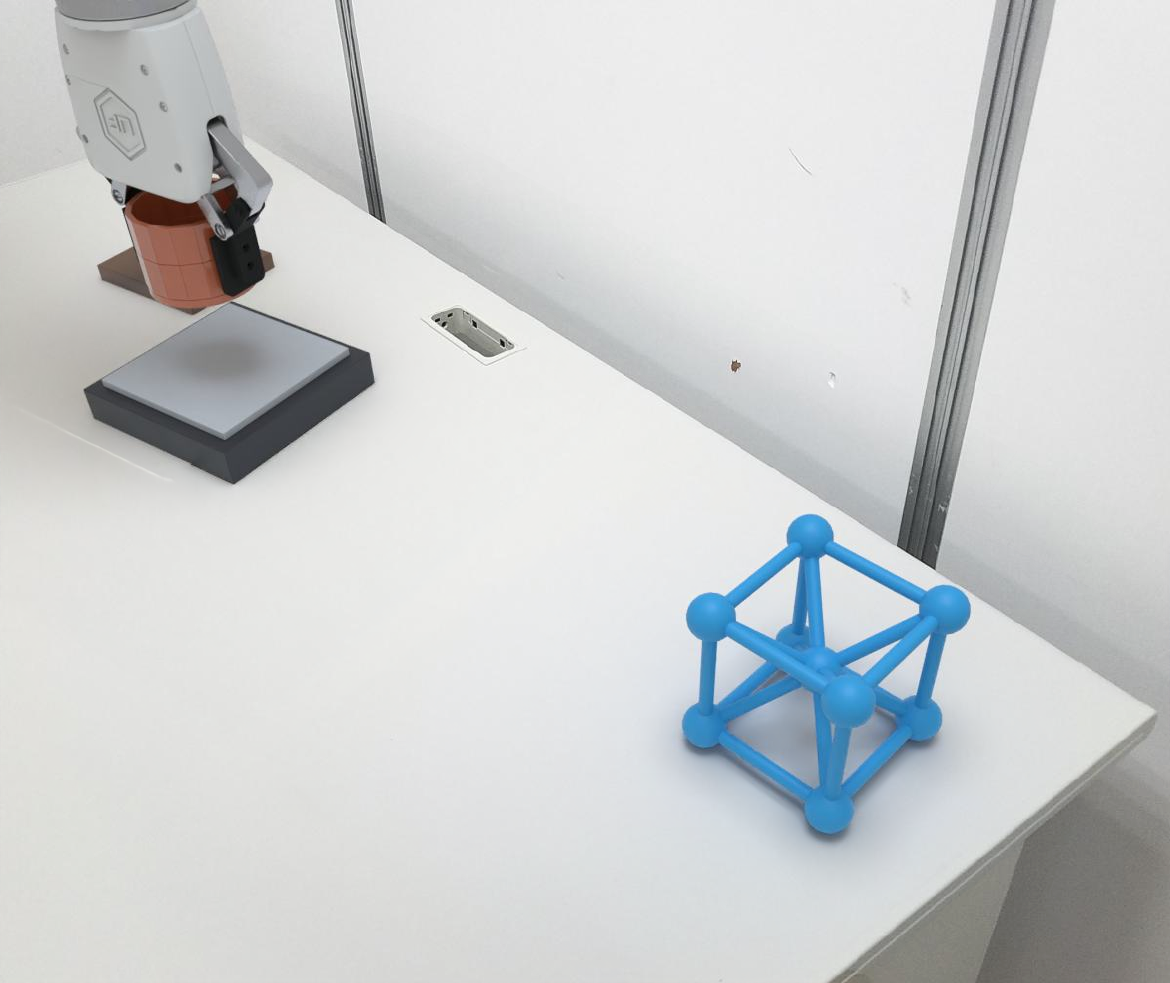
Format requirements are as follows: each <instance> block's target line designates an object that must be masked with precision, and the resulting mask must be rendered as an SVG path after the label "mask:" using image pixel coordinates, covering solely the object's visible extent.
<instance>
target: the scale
mask: <svg viewBox="0 0 1170 983" xmlns="http://www.w3.org/2000/svg"><path fill="white" fill-rule="evenodd" d="M375 381H376V380H375V375H374V370H373V364H372V358H371V353H370V352H368V351H366V350H363V349H361V348H358V347H355V346H353V345H351V344H347V343H345V342H343V341H340V340H337V339H335V338H331V337H329V336H326V335H323V334H321V333H318V332H316V331H313V330H310V329H307V328H305V327H303V326H299V325H297V324H294V323H292V322H289V321H286V320H284V319H281V318H278V317H275V316H273V315H270V314H268V313H265V312H262V311H259V310H257V309H254V308H251V307H249V306H247V305H244V304H241V303H238V302H235V301H233V300H231V301H229V302H226V303H224V305H222V306H220V307H219V308H217V309H215V310H213V311H212V312H210V313H209V314H207V315H205V316H204V317H202V318H200V319H199V320H197V321H195V322H193V323H192V324H190V325H189V326H187V327H185V328H183V329H182V330H180V331H178V332H177V333H175V334H174V335H172V336H170V337H168V338H167V339H165V340H164V341H162V342H160V343H159V344H157V345H155V346H153V347H152V348H150V349H148V350H147V351H145V352H143V353H142V354H140V355H138V356H137V357H134V358H132V359H131V360H130V361H128V362H126V363H125V364H123V365H121V366H120V367H118V368H117V369H115V370H113V371H112V372H110V373H108V374H107V375H105V376H103V377H102V378H100V379H98V380H96V381H95V382H93V383H91V384H90V385H88V386H86V387H84V388H83V389H82V390H83V393H84V396H85V398H86V402H87V404H88V407H89V409H90V411H91V414H92V417H93V419H94V420H96V421H98V422H100V423H103V424H104V425H107V426H109V427H111V428H114V429H116V430H117V431H120V432H122V433H124V434H127V435H128V436H130V437H133V438H134V439H137V440H139V441H142V442H143V443H146V444H148V445H150V446H152V447H154V448H155V449H159V450H160V451H163V452H165V453H167V454H169V455H172V456H174V457H176V458H177V459H180V460H183V461H184V462H186V463H188V464H191V465H192V466H194V467H197V468H199V469H201V470H203V471H204V472H208V473H209V474H211V475H214V476H215V477H218V478H220V479H222V480H223V481H227V482H229V483H230V484H236V483H237V482H238V481H240V480H241V479H243V478H244V477H246V475H248V474H249V473H251V472H252V471H254V470H255V469H256V468H258V467H259V466H261V465H262V464H263V463H265V462H266V461H268V460H269V459H270V458H272V457H274V455H276V454H277V453H278V452H280V451H281V450H283V449H284V448H285V447H287V446H288V445H290V444H291V443H293V442H294V441H295V440H297V439H298V438H299V437H300V436H302V435H303V434H305V433H306V432H308V431H309V430H310V429H313V427H315V426H316V425H318V424H319V423H320V422H322V421H323V420H324V419H326V418H327V417H329V416H330V415H331V414H333V413H335V411H337V410H339V409H340V408H341V407H342V406H344V405H345V404H346V403H348V402H349V401H350V400H352V399H354V398H355V397H357V395H359V394H360V393H362V392H364V391H365V390H366V389H368V387H370V386H372V384H374V383H375Z"/></svg>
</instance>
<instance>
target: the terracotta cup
mask: <svg viewBox="0 0 1170 983" xmlns="http://www.w3.org/2000/svg"><path fill="white" fill-rule="evenodd" d="M218 179H220V178H219V177H212V182H214V181H216V180H218ZM212 182H211V183H212ZM213 196H214V197H215V199H216V201H217V202H218V204H219V206H220V207H221V209H222V211H223V213H225V211H226V210H227V208H228V207H229V205H230V204H231V200H230V199H229V197H228V195H227V194H226V192H225V190H224V189H223V190H221V191H219V192H217V193H215V194H213ZM125 207H126V209H125V217H126V220H127V223H128V227H129V230H130V233H131V236H132V240H133V243H134V246H135V249H136V252H137V256H138V259H139V262H140V265H141V268H142V272H143V275H144V278H145V281H146V284H147V286H148V287H149V290H150V293H151V295H152V297H153V298H154V299H155V300H157V301H156V302H157V303H160V304H162V305H165V306H168V307H171V308H173V307H177V308H203V307H207V308H209V307H214V306H219V305H222V304H227V303H229V302H230V301H233V300H236V299H238V298H240V297H242V296H244V295H245V294H247V293H248V292H250V291H251V290H253V288H255V286H256V285H257V284H258V283H256V284H255V285H253V286H251V287H250V288H248V289H246V290H245V291H243V292H241V293H240V294H238V295H236V296H234V297H231V296H228V295H226V294H224V292H223V290H222V286H221V282H220V279H219V275H218V271H217V267H216V264H215V260H214V256H213V252H212V249H211V245H210V240H209V238H211V237H213V236H215V235H216V234H215V232H214V231H213V229H212V227H211V226H210V224H209V222H208V221H207V219H206V217H205V216H204V214H203V212H202V211H201V209H200V207H199V206H198V204H197V202H193V203H183V202H178V201H175V200H172V199H168V198H165V197H162V196H159V195H156V194H153V193H150V192H147V191H144V190H143V191H141V192H139V193H138V194H136V195H135V196H134V197H133V198H132V199H131V200H130V201H129V202H128V203H127V204H126V206H125ZM132 240H131V241H132ZM155 300H154V301H155Z"/></svg>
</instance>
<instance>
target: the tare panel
mask: <svg viewBox="0 0 1170 983" xmlns="http://www.w3.org/2000/svg"><path fill="white" fill-rule="evenodd" d="M260 252H261V257H262V261H263V265H264V269H265V274H266V273H268V272H270V271H271V270H273V269H275V263H274V258H273V254H272V252H270V251H268V250H264V249H261V248H260ZM96 266H97V269H98V272H99V275H100V279H101V280H102V281H103V282H106V283H110V284H112V285H115V286H117V287H120V288H122V289H124V290H127V291H130V292H132V293H135V294H138V295H140V296H143V297H145V298H147V299H150V300H153V301H155V302H158V301H157V300H155V299H154V298H153V297H152V295H151V293H150V290H149V287H148V286H147V284H146V281H145V278H144V275H143V272H142V268H141V265H140V263H139V262H138V260H137V256H136V253H135V250H134V247H133V246H131V247H129V248H127V249H125V250H123V251H121V252H120V253H117V254H115V255H113V256H112V257H110V258H108V259H106V260H104V261H102V262H100V263H99V264H97V265H96ZM172 308H173V309H176V310H177V311H181V312H184V313H186V314H189V315H191V316H195V315H197V314H199V313H200V312H202V311H204V310H205V309H207V308H208V307H203V308H177V307H172Z"/></svg>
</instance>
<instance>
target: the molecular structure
mask: <svg viewBox="0 0 1170 983" xmlns="http://www.w3.org/2000/svg"><path fill="white" fill-rule="evenodd" d="M785 536H786V544H787V546H785V547H784V548H783V549H782V550H781V551H779V552H778V553H777V554H776V555H774V556H773V557H772V558H770V559H769V560H768V561H766V563H764V564H763V565H762V566H761V567H759V568H758V569H757V570H756V571H754V572H753V573H752V574H750V575H749V576H748V577H747V578H746V579H744V580H743V581H742V582H741V583H739V584H738V585H737V586H736V587H735V588H733V589H732V590H731V591H729V592H728V593H727V594H726V595H723V594H721V593H718V592H711V591H710V592H704V593H701V594H699V595H697V596H696V597H694V598H693V599H692V600H691V601H690V603H689V605H688V606H687V609H686V613H685V622H686V626H687V628H688V630H689V631H690V634H692V635H693V636H694V637H695V638H696V639H697V640H700V641H701V648H700V649H701V652H700V668H699V669H700V671H699V690H698V702H696V703H694V704H693V705H691V706H689V707H688V708H687V709H686V711H685V712H684V714H683V717H682V720H681V730H682V734H683V735H684V737H685V738H686V740H687V741H688V742H689V743H690V744H691V745H694V746H695V747H698V748H703V749H707V748H712V747H714V746H716V745H718V744H720V745H721V746H723V747H724V748H725V749H727V750H728V751H730V752H731V753H733V754H734V755H736V757H739V758H740V759H742V760H743V761H745V762H746V763H748V764H749V765H751V766H752V767H753V768H755V769H756V770H758V771H760V772H761V773H762V774H764V775H765V776H767V777H768V778H769V779H771V780H773V781H774V782H776V783H777V784H779V785H780V786H781V787H783V788H784V789H785V790H787V791H789V793H792V794H793V795H794V796H796V797H797V798H799V799H801V800H802V801H803V802H804V803H803V804H804V805H803V806H804V815H805V818H806V820H807V822H808V824H809V825H810V826H811V827H812V828H813V829H815V830H816V831H818V832H821V833H822V834H837V833H840V832H842V831H844V830H845V829H846V828H847V827H848V826H850V824H851V822H852V820H853V818H854V816H855V815H854V814H855V804H854V801H853V799H852V797H853V796H854V795H855V794H856V793H857V792H859V790H860V789H861V788H862V787H863V786H864V785H865V784H866V783H867V782H868V781H869V780H870V779H871V778H872V777H873V776H874V775H875V774H876V773H877V772H878V771H879V769H881V768H882V767H883V766H884V765H885V764H886V762H888V760H890V758H892V756H893V755H894V754H895V753H897V751H898V750H899V749H901V747H903V746H904V744H905V743H906V742H907V741H908V740H911V739H912V740H911V741H917V742H923V740H924V741H928V740H929V739H932V738H934V737H935V736H936V735H937V734H938V733H939V731H940V729H941V727H942V725H943V713H942V710H941V708H940V706H939V705H938V704H937V702H936V701H935V700H934V699H932V697H933V693H934V688H935V684H936V681H937V676H938V673H939V669H940V665H941V661H942V656H943V653H944V648H945V645H946V641H947V636H948V635H953V634H955V633H957V632H959V631H961V630H962V629H964V628H965V627H966V626H967V624H968V622H969V620H970V618H971V614H972V610H971V609H972V606H971V602H970V599H969V597H968V596H967V594H966V593H965V592H964V591H963V590H961V589H960V588H958V587H957V586H954V585H951V584H939V585H935V586H933V587H932V588H930V589H928V590H926V589H924V588H921V587H920V586H918V585H916V584H914V583H912V582H910V581H909V580H906V579H905V578H903V577H902V576H899V575H897V574H896V573H893V572H892V571H890V570H888V569H887V568H885V567H883V566H880V565H879V564H877V563H874V561H871V560H870V559H868V558H865V557H864V556H862V555H861V554H858V553H856V552H854V551H853V550H850V549H849V548H847V547H845V546H843V545H841V544H839V543H838V542H836V541H835V538H834V537H835V534H834V530H833V527H832V525H831V524H830V523H829V521H828V520H827V519H826V518H824V517H823V516H821V515H820V514H819V515H818V514H814V513H804V514H802V515H800V516H798V517H796V518H795V519H794V520H792V521H791V523H790V524H789V526H788V527H787V531H786V535H785ZM826 555H827V556H829V557H831V558H832V559H834V560H835V561H837V562H840V563H841V564H843V565H845V566H847V567H849V568H850V569H852V570H853V571H856V572H858V573H859V574H861V575H864V576H865V577H867V578H869V579H871V580H873V581H874V582H876V583H878V584H880V585H882V586H884V587H885V588H887V589H889V590H891V591H893V592H894V593H897V594H898V595H900V596H902V597H904V598H905V599H907V600H910V601H911V602H913V603H915V604H917V605H918V613H917V614H915V615H913V616H910V617H908V618H906V619H904V620H902V621H900V622H898V623H896V624H893V625H892V626H890V627H887V628H886V629H884V630H881V631H880V632H878V633H875V634H873V635H871V636H869V637H867V638H865V639H863V640H861V641H858V642H857V643H854V644H852V645H850V646H848V647H846V648H844V649H842V650H840V651H838V652H836V651H834V649H832V648H830V647H828V646H826V638H825V637H826V636H825V622H824V609H823V595H822V581H821V568H820V567H821V566H820V559H822V558H823V557H825V556H826ZM797 558H798V559H799V562H798V572H797V579H796V588H795V595H794V604H793V612H792V620H791V623H789V624H787V625H785V626H783V627H782V628H781V629H780V630H779V631H778V632H777V634H776V635H775V638H772V637H771V636H768V635H766V634H764V633H762V632H760V631H758V630H756V629H754V628H751V627H750V626H747V625H745V624H744V623H741V622H739V621H737V613H736V608H737V607H738V606H739V605H741V604H742V603H744V601H745V600H747V599H748V598H749V597H750V596H752V595H753V594H754V593H756V591H758V590H759V589H760V588H761V587H762V586H764V585H765V584H766V583H768V582H769V581H770V580H771V579H772V578H774V577H775V576H776V575H778V573H780V572H781V571H782V570H783V569H785V568H786V567H788V566H789V565H790V564H791V563H792V562H793V561H795V560H796V559H797ZM807 622H808V625H807ZM725 638H729V639H730V640H732V641H734V642H735V643H737V644H738V645H740V646H742V647H743V648H745V649H746V650H748V651H749V652H751V653H753V654H754V655H756V656H758V657H759V658H761V659H763V660H765V662H764V663H763V664H762V665H761V666H759V667H758V668H757V669H756V670H755V671H753V672H752V673H751V674H750V675H749V676H748V677H747V678H746V679H745V680H743V681H742V682H741V683H740V684H739V685H738V686H736V687H735V688H734V689H732V691H731V692H729V693H728V694H727V695H726V696H725V697H724V698H722V700H720V701H719V702H718V703H717V704H716V703H714V701H715V685H716V668H717V667H716V666H717V653H718V642H720V641H722V640H724V639H725ZM927 638H929V639H928V644H927V648H926V652H925V656H924V661H923V665H922V669H921V673H920V678H919V682H918V685H917V691H916V694H913V695H909V696H908V697H906V698H903V699H901V698H900V697H898V696H897V695H895V694H893V693H892V692H890V691H888V690H886V689H885V688H883V687H882V686H879V685H880V684H881V683H882V682H883V681H884V680H885V679H886V678H887V677H888V676H889V675H890V674H891V673H892V672H893V671H895V669H896V668H898V667H899V665H900V664H901V663H902V662H904V661H905V660H906V659H907V658H908V657H909V656H910V655H911V654H912V653H913V652H914V651H915V650H916V649H917V648H918V647H920V645H921V644H922V643H923V642H925V641H926V640H927ZM894 643H896V644H895V645H893V647H892V648H891V649H889V651H887V652H886V653H885V654H884V655H883V656H882V657H881V658H880V659H879V660H878V661H877V662H876V663H875V664H874V665H873V666H871V667H870V668H869V669H868V670H867V671H866V672H865V673H864V674H863V675H861V674H859V673H858V672H856V671H854V670H853V669H851V668H850V667H848V665H850V664H852V663H854V662H857V661H858V660H862V659H863V658H865V657H867V656H869V655H871V654H873V653H875V652H878V651H880V650H882V649H885V648H886V647H888V646H890V645H892V644H894ZM778 670H781V671H782V672H783V673H785V674H787V675H788V676H785V677H784V678H782V679H780V680H778V681H776V682H774V683H772V684H770V685H768V686H766V687H763V688H761V689H759V690H757V689H758V688H759V687H760V686H761V685H763V684H764V683H765V682H766V681H767V680H768V679H770V678H771V677H772V676H773V675H774V674H775V673H776V672H777V671H778ZM800 688H803V689H805V690H806V691H808V692H810V693H811V694H812V695H813V707H814V708H813V710H814V721H815V722H814V723H815V738H816V752H817V765H818V766H817V769H818V779H819V783H818V784H819V785H817V786H816V787H814V788H813V787H811V786H810V785H808V784H807V783H805V782H804V781H803V780H801V779H799V778H798V777H797V776H795V775H793V774H792V773H791V772H789V771H788V770H786V769H784V768H783V767H781V766H780V765H779V764H777V763H776V762H774V761H773V760H771V759H770V758H768V757H766V756H765V755H764V754H762V753H760V752H759V751H758V750H756V749H755V748H753V747H752V746H750V745H749V744H748V743H746V742H744V741H742V740H741V739H739V737H737V736H735V735H734V734H732V733H731V732H729V731H728V729H729V726H728V725H729V722H730V721H733V720H734V719H737V718H738V717H741V716H743V715H745V714H748V713H749V712H752V711H754V710H756V709H758V708H760V707H762V706H764V705H766V704H768V703H771V702H773V701H774V700H777V699H778V698H781V697H783V696H785V695H787V694H789V693H791V692H793V691H795V690H797V689H800ZM756 690H757V691H756ZM876 707H879V708H880V709H882V710H885V711H886V712H888V713H891V714H893V715H894V722H895V726H896V728H897V729H895V730H894V731H893V733H892V734H890V735H889V736H888V737H887V738H886V739H885V740H884V742H882V744H880V745H879V747H877V748H876V749H875V750H874V751H873V752H872V753H871V755H870V756H869V757H867V759H866V760H865V761H864V762H862V764H860V765H859V767H858V768H857V769H856V770H855V771H854V772H852V774H851V775H850V776H848V777H847V779H846V780H845V781H844V782H843V780H844V779H843V778H844V774H845V768H846V763H847V758H848V752H849V746H850V742H851V736H852V732H853V729H855V728H856V729H857V728H859V727H861V726H863V725H865V724H866V723H867V722H868V721H869V720H871V718H872V716H873V714H874V713H875V710H876ZM832 725H834V731H833V733H832ZM832 735H833V736H832Z"/></svg>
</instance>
